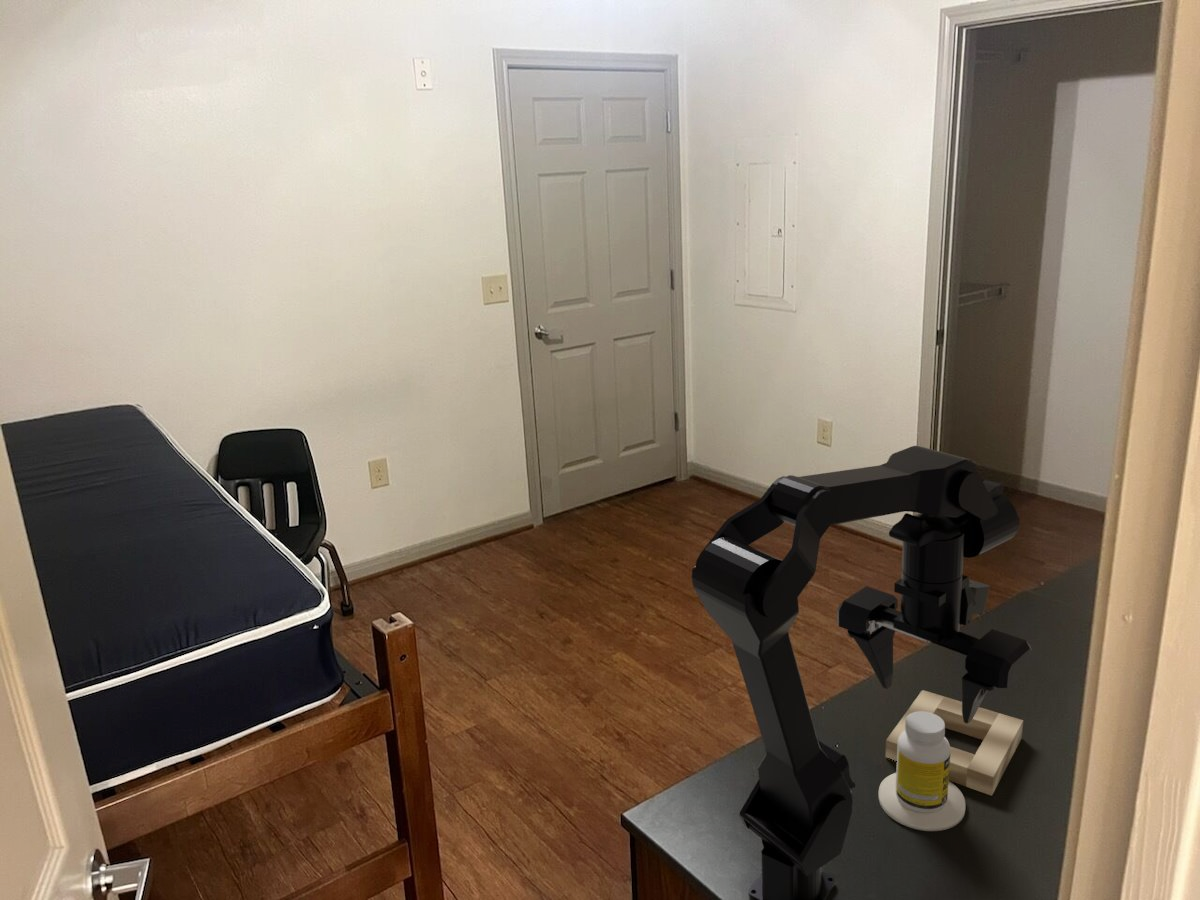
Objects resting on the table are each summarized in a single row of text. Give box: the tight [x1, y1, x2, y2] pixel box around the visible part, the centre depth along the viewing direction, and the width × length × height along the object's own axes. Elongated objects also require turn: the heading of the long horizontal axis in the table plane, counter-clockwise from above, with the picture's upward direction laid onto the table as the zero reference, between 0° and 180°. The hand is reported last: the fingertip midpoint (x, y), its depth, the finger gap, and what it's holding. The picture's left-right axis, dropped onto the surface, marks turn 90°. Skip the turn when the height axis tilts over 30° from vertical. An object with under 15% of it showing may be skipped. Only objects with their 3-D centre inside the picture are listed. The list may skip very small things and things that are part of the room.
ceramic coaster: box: [878, 772, 966, 832], centre depth 99 cm, size 9×9×1 cm
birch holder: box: [885, 689, 1024, 797], centre depth 107 cm, size 12×12×2 cm
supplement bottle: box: [895, 711, 951, 813], centre depth 97 cm, size 5×5×10 cm
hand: (926, 703), depth 95 cm, fingers open, 9 cm apart
